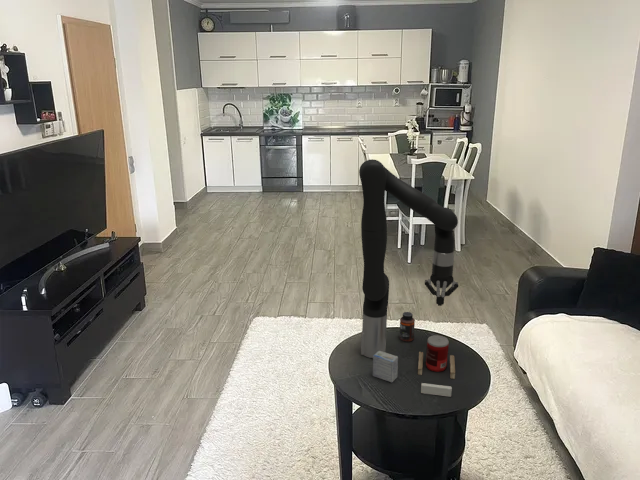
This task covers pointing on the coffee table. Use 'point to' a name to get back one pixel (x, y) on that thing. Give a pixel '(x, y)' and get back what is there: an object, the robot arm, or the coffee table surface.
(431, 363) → the canned food
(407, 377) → the coffee table surface
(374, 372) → the medicine box
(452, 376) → the wooden bars
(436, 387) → the bar
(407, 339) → the supplement bottle
